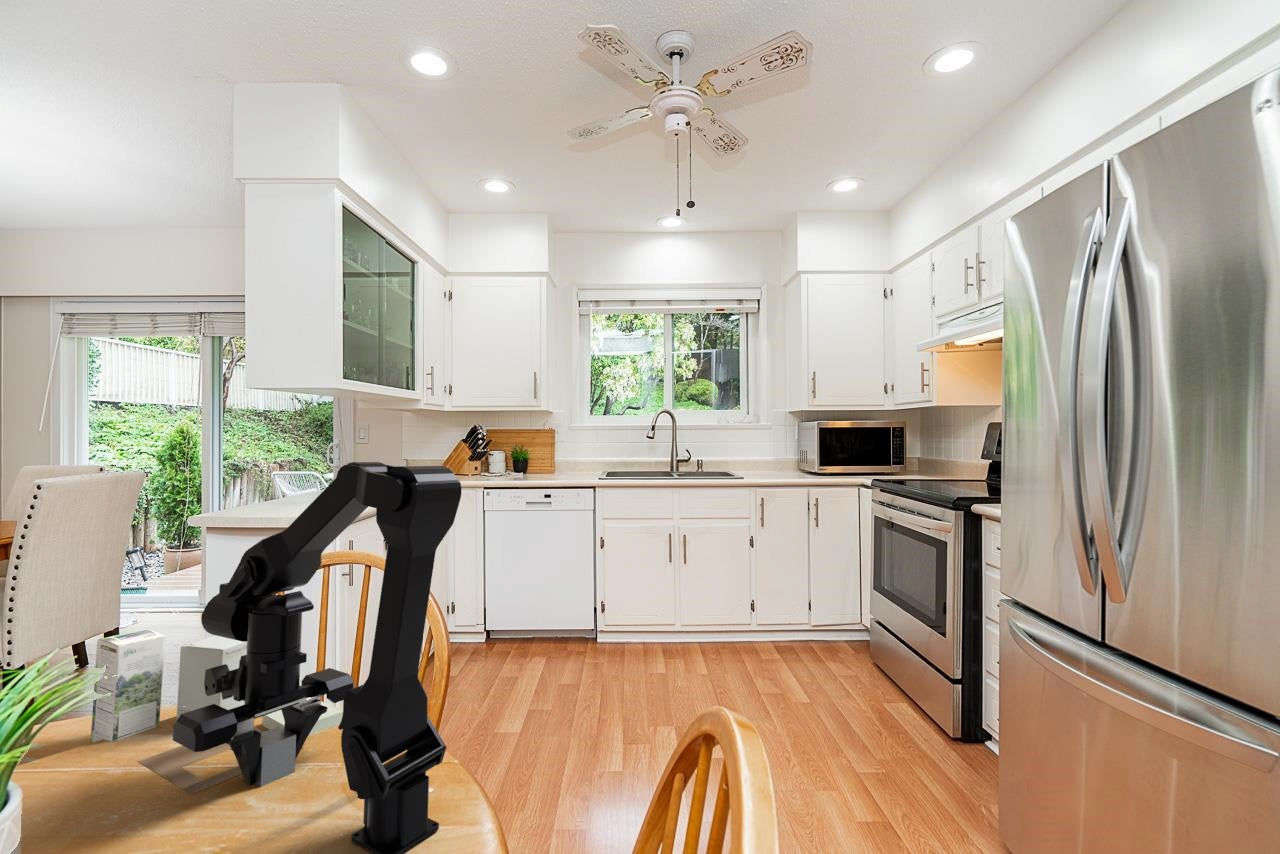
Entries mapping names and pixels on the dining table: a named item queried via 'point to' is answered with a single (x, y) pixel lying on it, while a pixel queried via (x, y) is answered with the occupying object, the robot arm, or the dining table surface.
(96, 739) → the syrup box
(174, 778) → the walnut board
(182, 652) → the supplement box
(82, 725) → the dining table surface
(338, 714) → the sage cover
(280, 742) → the grey block
